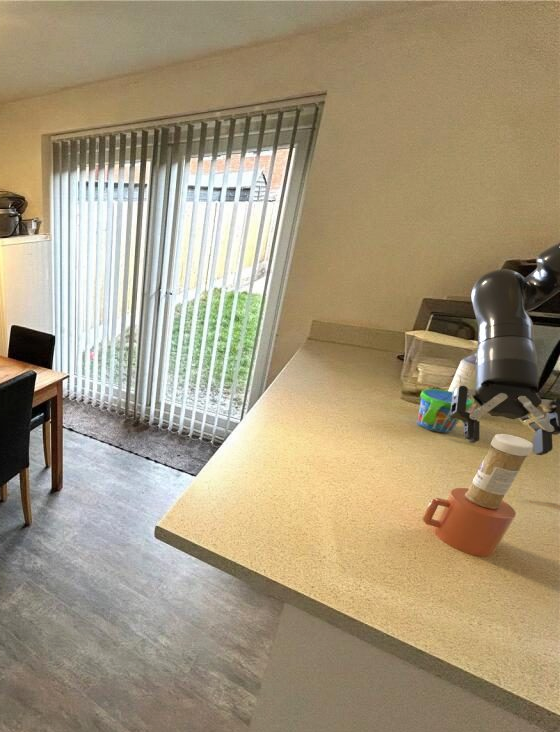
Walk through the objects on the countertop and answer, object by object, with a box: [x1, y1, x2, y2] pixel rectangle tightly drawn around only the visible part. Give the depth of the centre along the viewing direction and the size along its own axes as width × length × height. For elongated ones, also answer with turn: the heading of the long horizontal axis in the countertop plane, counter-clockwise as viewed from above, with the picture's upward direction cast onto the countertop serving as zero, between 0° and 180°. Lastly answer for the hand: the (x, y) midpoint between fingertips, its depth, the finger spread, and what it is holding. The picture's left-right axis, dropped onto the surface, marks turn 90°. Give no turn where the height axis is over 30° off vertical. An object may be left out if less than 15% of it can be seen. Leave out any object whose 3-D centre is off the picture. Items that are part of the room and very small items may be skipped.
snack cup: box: [417, 388, 473, 434], centre depth 113 cm, size 16×10×10 cm
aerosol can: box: [447, 352, 478, 413], centre depth 119 cm, size 7×7×20 cm
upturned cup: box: [422, 487, 517, 557], centre depth 75 cm, size 11×8×9 cm
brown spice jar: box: [465, 433, 534, 509], centre depth 70 cm, size 5×5×14 cm
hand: (506, 447), depth 69 cm, fingers open, 8 cm apart
